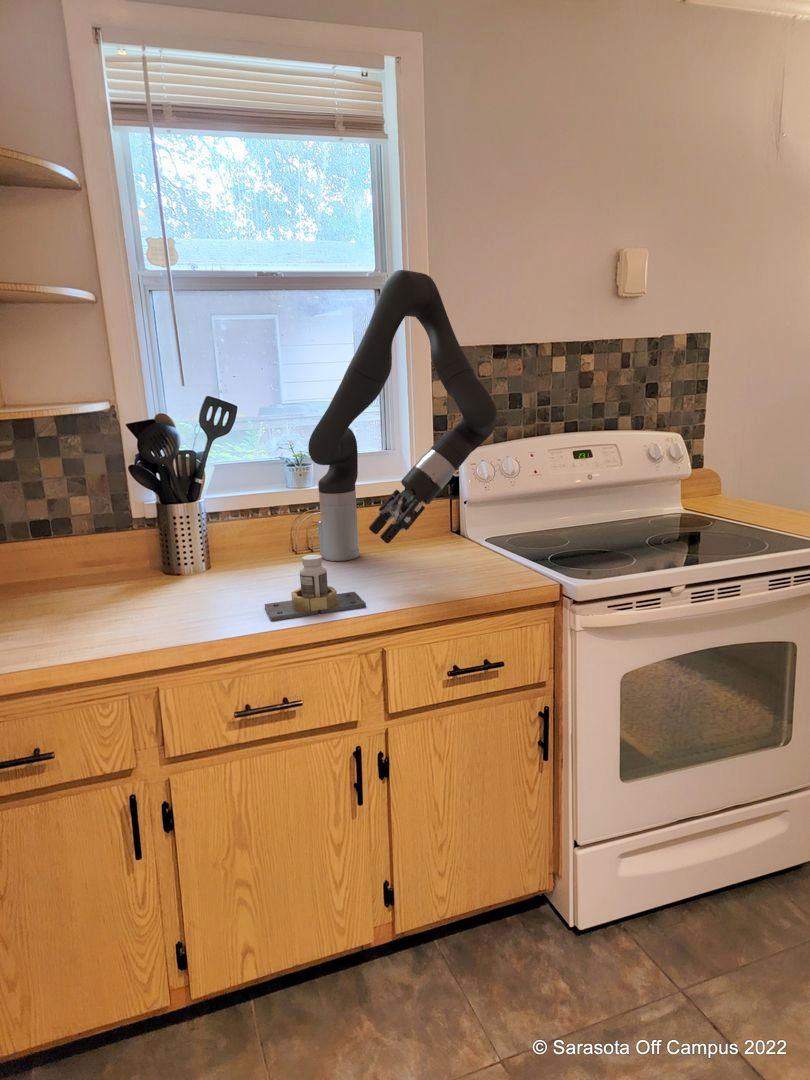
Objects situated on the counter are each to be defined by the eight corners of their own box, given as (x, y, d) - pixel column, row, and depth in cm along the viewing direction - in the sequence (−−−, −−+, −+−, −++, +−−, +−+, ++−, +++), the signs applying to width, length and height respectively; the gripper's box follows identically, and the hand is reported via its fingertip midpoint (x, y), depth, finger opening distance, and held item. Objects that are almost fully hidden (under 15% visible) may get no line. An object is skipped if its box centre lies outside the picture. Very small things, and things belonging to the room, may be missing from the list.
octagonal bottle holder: (271, 621, 140) (269, 604, 139) (264, 607, 148) (263, 592, 147) (365, 607, 146) (365, 591, 145) (354, 595, 154) (353, 580, 153)
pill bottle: (323, 597, 150) (320, 552, 148) (332, 604, 146) (329, 557, 143) (298, 602, 148) (294, 556, 146) (307, 609, 143) (303, 561, 141)
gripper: (405, 460, 155) (355, 518, 154) (428, 469, 142) (374, 532, 141) (429, 483, 158) (380, 539, 157) (453, 493, 144) (401, 555, 144)
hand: (377, 536), depth 149 cm, fingers open, 8 cm apart
